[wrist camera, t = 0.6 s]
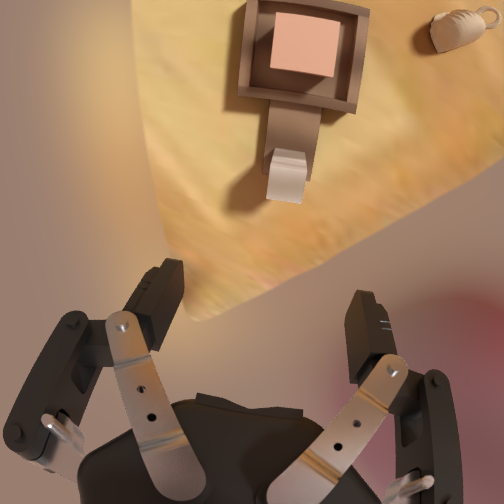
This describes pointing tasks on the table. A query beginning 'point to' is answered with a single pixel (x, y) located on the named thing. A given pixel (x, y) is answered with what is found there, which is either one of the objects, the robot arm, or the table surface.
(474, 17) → the decorative ornament
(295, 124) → the tray
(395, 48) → the table surface
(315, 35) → the terracotta cube
